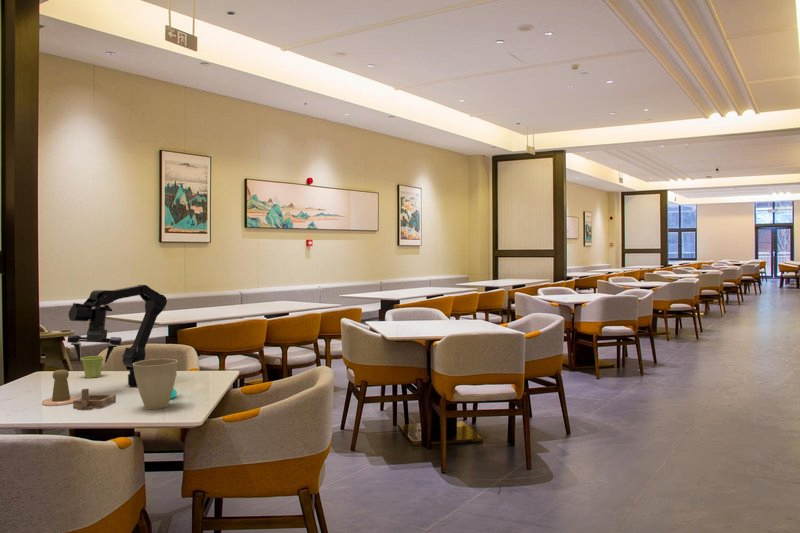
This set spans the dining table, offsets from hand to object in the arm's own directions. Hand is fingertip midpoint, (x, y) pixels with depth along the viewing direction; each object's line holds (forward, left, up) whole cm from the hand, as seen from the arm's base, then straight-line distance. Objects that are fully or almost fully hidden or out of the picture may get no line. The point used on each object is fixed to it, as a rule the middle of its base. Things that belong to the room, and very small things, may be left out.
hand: (92, 362), depth 244 cm
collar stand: (+1, +22, -12) cm, 25 cm away
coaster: (+11, +10, -12) cm, 19 cm away
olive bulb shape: (+11, +10, -12) cm, 19 cm away
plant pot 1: (-1, -39, -13) cm, 41 cm away
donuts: (-23, +21, -13) cm, 34 cm away
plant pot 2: (-19, +35, -13) cm, 42 cm away
